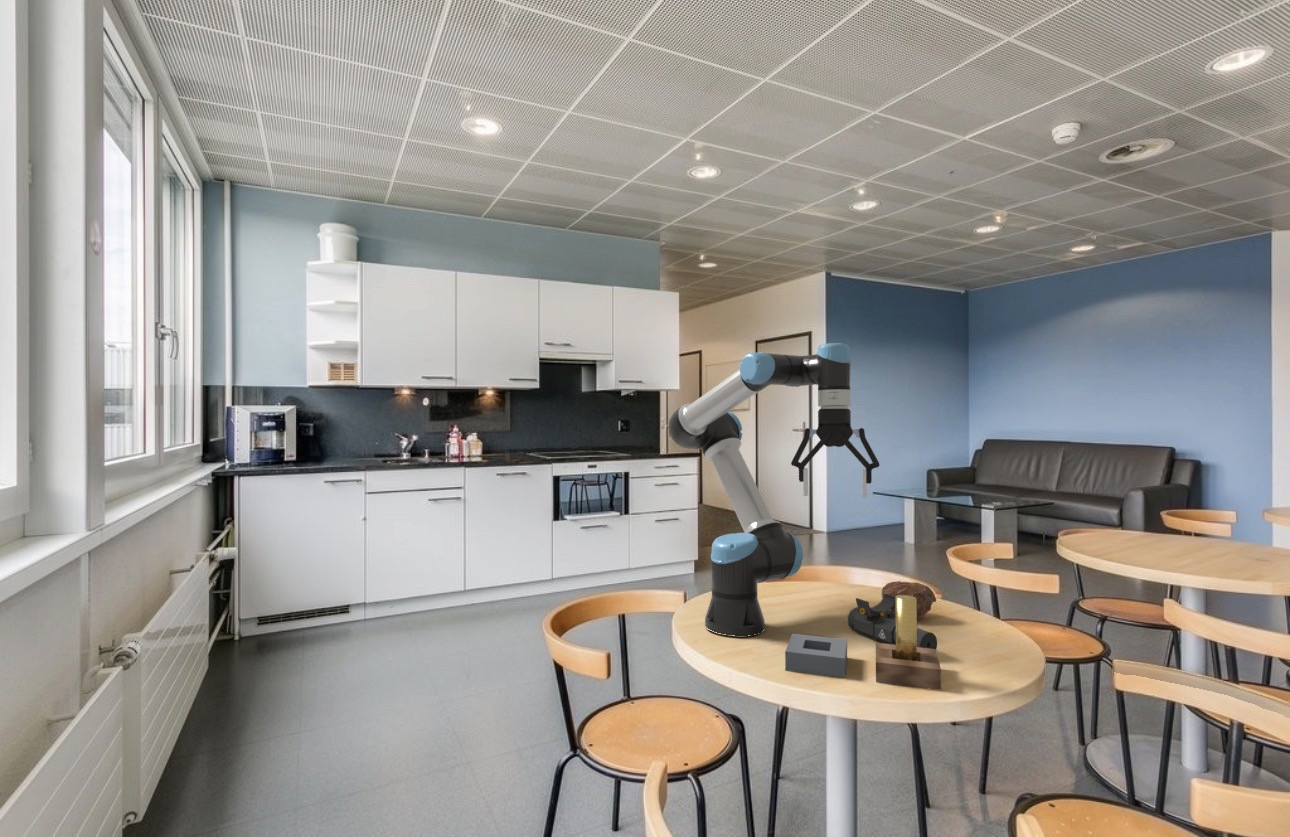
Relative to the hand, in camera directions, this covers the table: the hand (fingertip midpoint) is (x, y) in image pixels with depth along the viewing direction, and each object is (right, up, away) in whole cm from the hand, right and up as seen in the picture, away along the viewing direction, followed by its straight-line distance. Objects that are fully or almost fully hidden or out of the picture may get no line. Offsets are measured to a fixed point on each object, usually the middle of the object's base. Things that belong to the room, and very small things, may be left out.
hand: (834, 496), depth 151 cm
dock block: (+9, -35, -20) cm, 41 cm away
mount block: (-8, -35, -14) cm, 38 cm away
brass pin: (+9, -35, -21) cm, 41 cm away
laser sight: (+12, -35, -1) cm, 37 cm away
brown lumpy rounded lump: (+25, -35, +18) cm, 47 cm away
